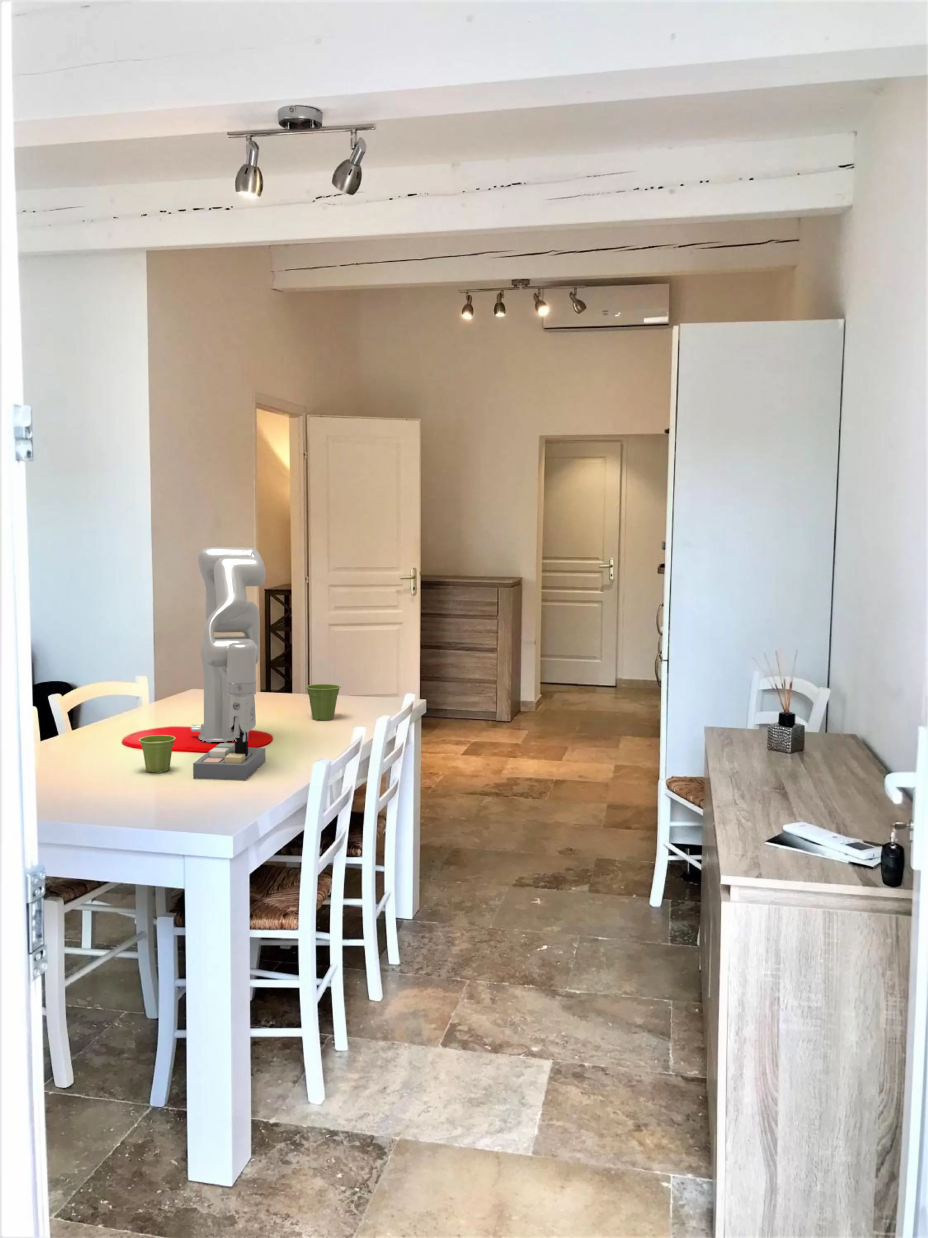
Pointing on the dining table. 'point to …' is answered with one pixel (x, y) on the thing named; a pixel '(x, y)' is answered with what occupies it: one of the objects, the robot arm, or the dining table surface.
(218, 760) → the key terracotta
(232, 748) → the key sage
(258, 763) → the keypad
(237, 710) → the robot arm
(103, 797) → the dining table surface
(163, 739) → the plant pot
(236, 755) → the key ochre
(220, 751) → the key cream
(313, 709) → the plant pot
